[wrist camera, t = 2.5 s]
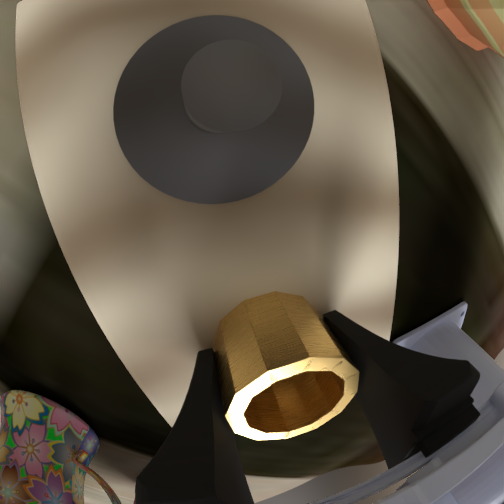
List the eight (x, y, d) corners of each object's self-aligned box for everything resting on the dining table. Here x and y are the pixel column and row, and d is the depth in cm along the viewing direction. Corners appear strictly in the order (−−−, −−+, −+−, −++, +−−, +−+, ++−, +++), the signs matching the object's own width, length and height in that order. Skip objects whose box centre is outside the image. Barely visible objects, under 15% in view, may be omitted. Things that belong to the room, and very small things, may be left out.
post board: (376, 354, 17) (416, 407, 12) (174, 416, 16) (179, 485, 11) (330, -48, 7) (388, -95, 2) (28, 11, 5) (-32, -25, 1)
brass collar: (321, 356, 14) (354, 413, 10) (230, 385, 13) (244, 449, 10) (315, 278, 12) (362, 336, 8) (200, 312, 11) (208, 386, 8)
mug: (48, 446, 16) (36, 539, 6) (-19, 379, 12) (-57, 484, 2) (157, 444, 17) (168, 566, 7) (90, 368, 13) (64, 546, 3)
